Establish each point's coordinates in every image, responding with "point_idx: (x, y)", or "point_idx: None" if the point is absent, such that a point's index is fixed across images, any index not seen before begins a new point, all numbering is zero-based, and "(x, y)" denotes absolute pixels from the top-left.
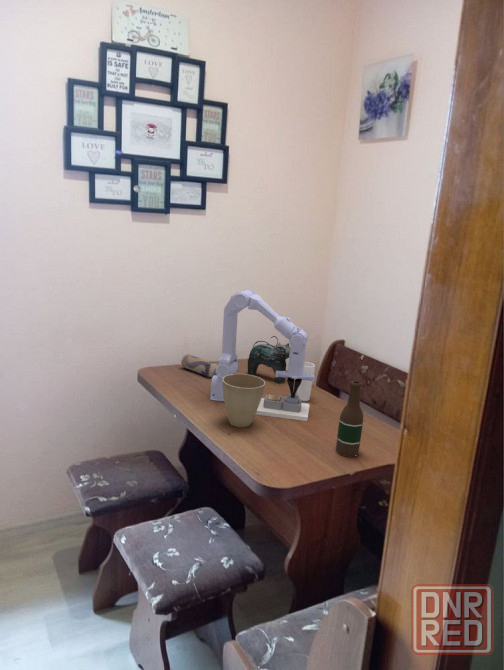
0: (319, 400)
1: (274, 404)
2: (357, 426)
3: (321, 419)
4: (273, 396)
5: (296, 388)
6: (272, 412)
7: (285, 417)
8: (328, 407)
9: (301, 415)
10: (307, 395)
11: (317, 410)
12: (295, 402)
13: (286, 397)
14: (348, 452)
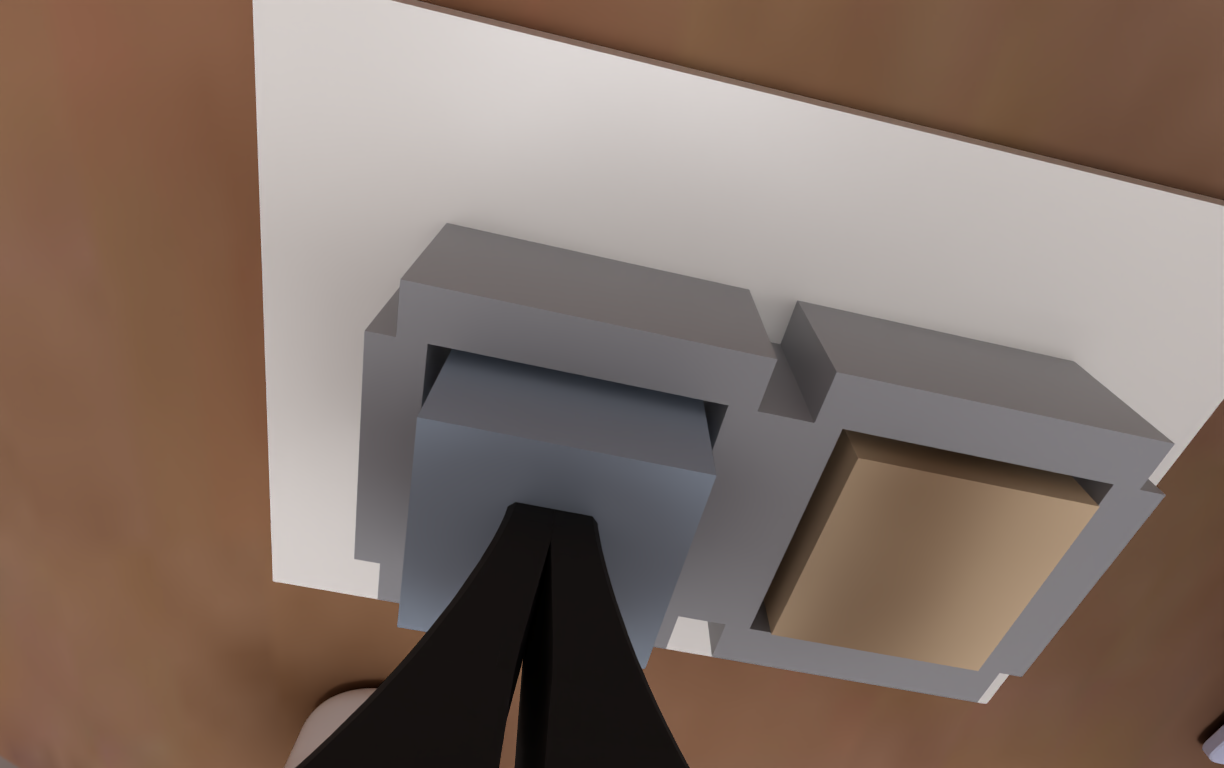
0: (189, 723)
1: (946, 371)
2: None
3: (38, 112)
4: (916, 619)
5: (411, 707)
6: (994, 168)
7: (725, 80)
8: (38, 566)
9: (395, 73)
10: None
11: (170, 464)
12: (496, 383)
13: None
14: None
